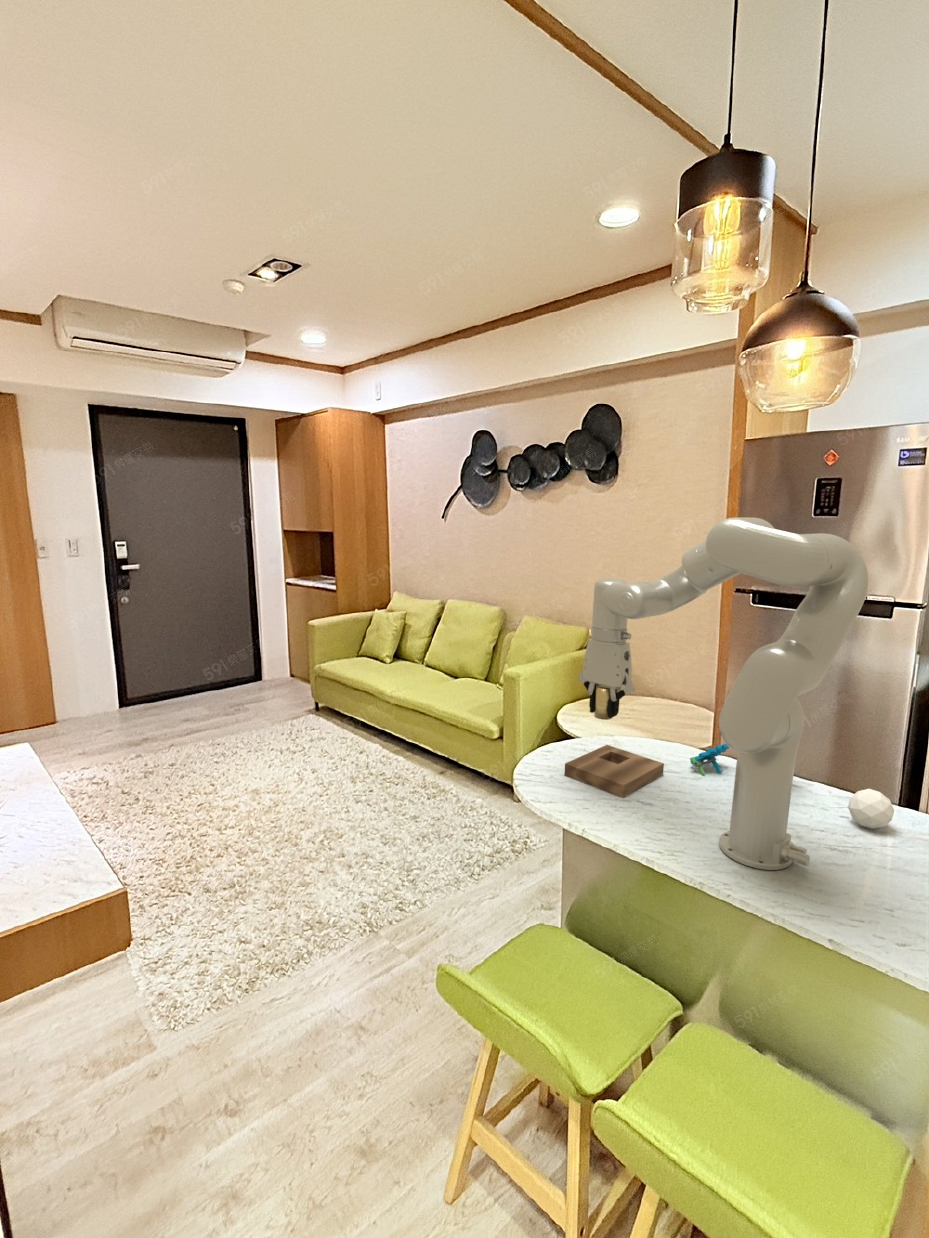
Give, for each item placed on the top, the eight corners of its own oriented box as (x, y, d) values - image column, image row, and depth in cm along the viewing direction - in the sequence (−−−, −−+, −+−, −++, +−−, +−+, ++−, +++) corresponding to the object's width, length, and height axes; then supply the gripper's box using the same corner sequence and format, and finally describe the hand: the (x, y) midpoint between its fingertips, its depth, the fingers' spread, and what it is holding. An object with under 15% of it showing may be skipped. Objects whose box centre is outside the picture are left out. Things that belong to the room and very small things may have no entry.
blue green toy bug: (713, 753, 161) (733, 737, 153) (725, 774, 158) (747, 759, 150) (678, 764, 157) (697, 748, 149) (690, 786, 155) (710, 771, 146)
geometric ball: (877, 842, 127) (896, 826, 121) (836, 819, 131) (853, 802, 125) (886, 814, 131) (906, 797, 125) (847, 793, 135) (864, 775, 129)
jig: (663, 775, 151) (663, 763, 151) (622, 797, 139) (623, 785, 138) (606, 755, 162) (606, 744, 162) (564, 775, 150) (564, 763, 149)
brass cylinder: (615, 716, 142) (617, 687, 141) (606, 720, 139) (608, 690, 138) (600, 712, 145) (602, 683, 143) (590, 716, 142) (592, 686, 141)
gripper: (651, 638, 136) (645, 719, 139) (585, 627, 147) (581, 701, 150) (634, 643, 130) (628, 727, 133) (567, 631, 141) (563, 708, 145)
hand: (603, 713), depth 142 cm, fingers closed on brass cylinder, 4 cm apart
